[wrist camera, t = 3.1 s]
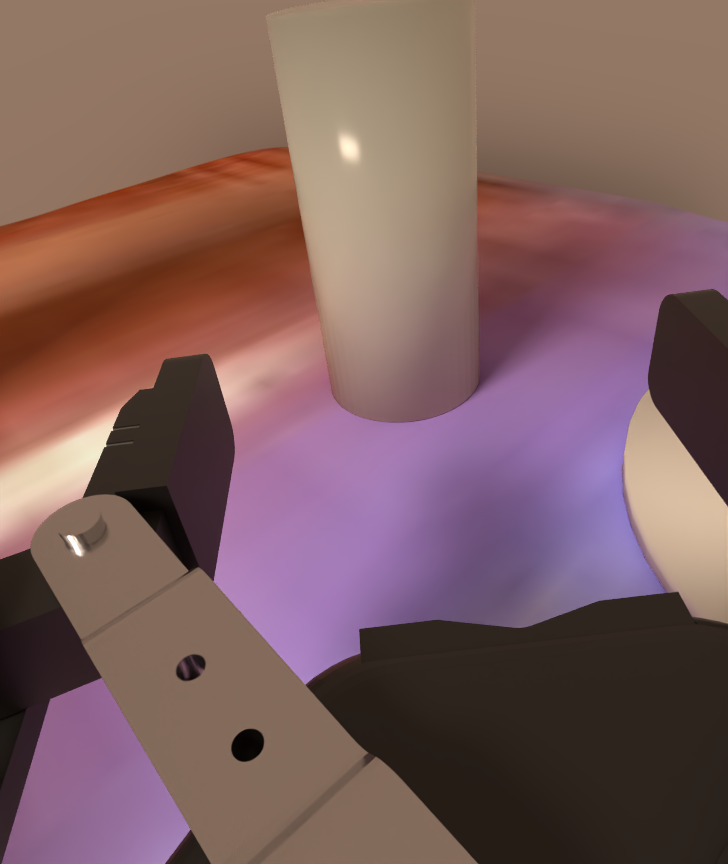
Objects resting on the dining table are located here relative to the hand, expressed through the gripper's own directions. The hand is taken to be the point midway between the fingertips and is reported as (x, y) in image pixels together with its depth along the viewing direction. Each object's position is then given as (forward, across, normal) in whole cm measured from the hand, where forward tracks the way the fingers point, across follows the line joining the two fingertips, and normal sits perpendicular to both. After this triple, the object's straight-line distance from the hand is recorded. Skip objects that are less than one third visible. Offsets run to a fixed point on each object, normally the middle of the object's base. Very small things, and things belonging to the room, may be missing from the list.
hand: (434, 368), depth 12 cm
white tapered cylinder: (+11, 0, +7) cm, 13 cm away
